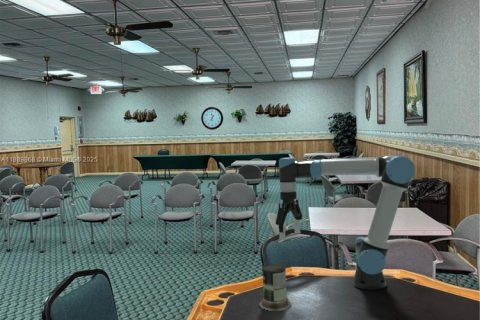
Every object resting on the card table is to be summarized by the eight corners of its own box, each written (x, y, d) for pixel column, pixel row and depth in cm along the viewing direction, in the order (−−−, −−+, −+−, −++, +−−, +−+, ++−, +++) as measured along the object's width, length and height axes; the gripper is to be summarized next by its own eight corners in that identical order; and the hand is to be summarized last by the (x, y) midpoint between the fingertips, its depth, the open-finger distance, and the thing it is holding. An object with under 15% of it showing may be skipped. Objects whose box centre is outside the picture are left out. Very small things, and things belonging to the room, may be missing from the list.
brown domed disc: (288, 298, 198) (288, 292, 198) (293, 310, 184) (293, 304, 184) (257, 300, 197) (257, 294, 197) (260, 312, 183) (260, 306, 183)
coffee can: (262, 303, 186) (260, 270, 186) (264, 294, 196) (263, 264, 196) (286, 303, 185) (284, 270, 184) (287, 295, 195) (286, 264, 194)
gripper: (294, 187, 215) (296, 230, 216) (266, 194, 195) (268, 241, 196) (308, 188, 211) (310, 231, 212) (280, 194, 191) (282, 242, 192)
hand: (290, 236), depth 204 cm, fingers open, 13 cm apart
